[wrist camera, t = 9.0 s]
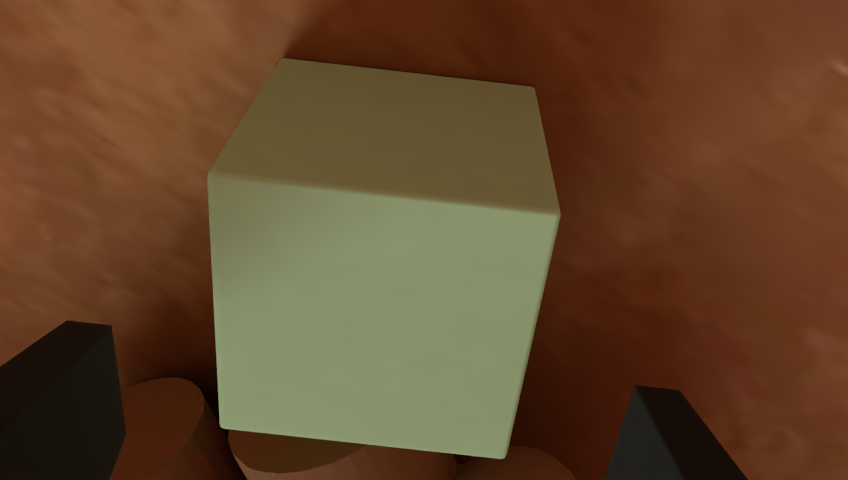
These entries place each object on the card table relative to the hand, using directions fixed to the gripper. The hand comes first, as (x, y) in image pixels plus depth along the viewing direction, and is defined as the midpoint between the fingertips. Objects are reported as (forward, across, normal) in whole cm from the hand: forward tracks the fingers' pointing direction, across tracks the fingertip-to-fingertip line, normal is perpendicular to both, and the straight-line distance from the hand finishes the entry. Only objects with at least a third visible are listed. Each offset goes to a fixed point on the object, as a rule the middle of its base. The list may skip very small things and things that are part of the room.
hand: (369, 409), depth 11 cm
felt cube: (+6, 0, 0) cm, 7 cm away
